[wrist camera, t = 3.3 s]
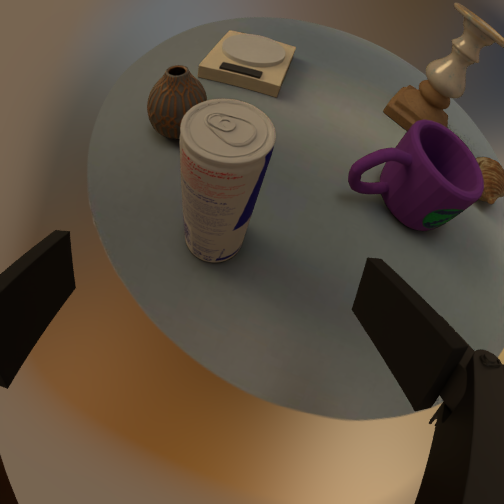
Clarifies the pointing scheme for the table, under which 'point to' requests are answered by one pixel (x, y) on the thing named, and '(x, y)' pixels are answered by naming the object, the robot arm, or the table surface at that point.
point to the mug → (423, 176)
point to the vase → (173, 100)
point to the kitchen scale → (248, 62)
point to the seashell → (491, 179)
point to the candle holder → (443, 76)
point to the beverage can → (222, 173)
